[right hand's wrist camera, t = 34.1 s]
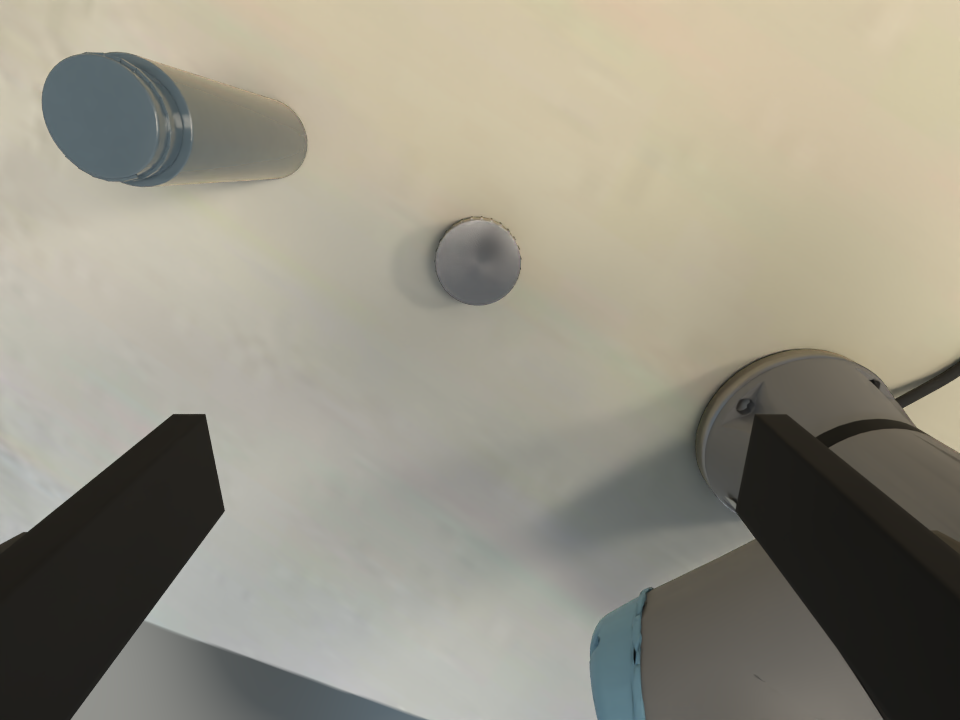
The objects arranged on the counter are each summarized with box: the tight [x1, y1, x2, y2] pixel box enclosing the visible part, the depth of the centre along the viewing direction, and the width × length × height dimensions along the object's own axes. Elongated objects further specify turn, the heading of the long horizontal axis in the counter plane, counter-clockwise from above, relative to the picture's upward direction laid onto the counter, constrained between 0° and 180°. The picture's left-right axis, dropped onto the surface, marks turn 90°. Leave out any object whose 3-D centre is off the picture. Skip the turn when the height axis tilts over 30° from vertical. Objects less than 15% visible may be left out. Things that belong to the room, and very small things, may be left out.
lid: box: [435, 216, 521, 305], centre depth 38 cm, size 6×6×2 cm
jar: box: [42, 52, 307, 187], centre depth 28 cm, size 5×5×17 cm
